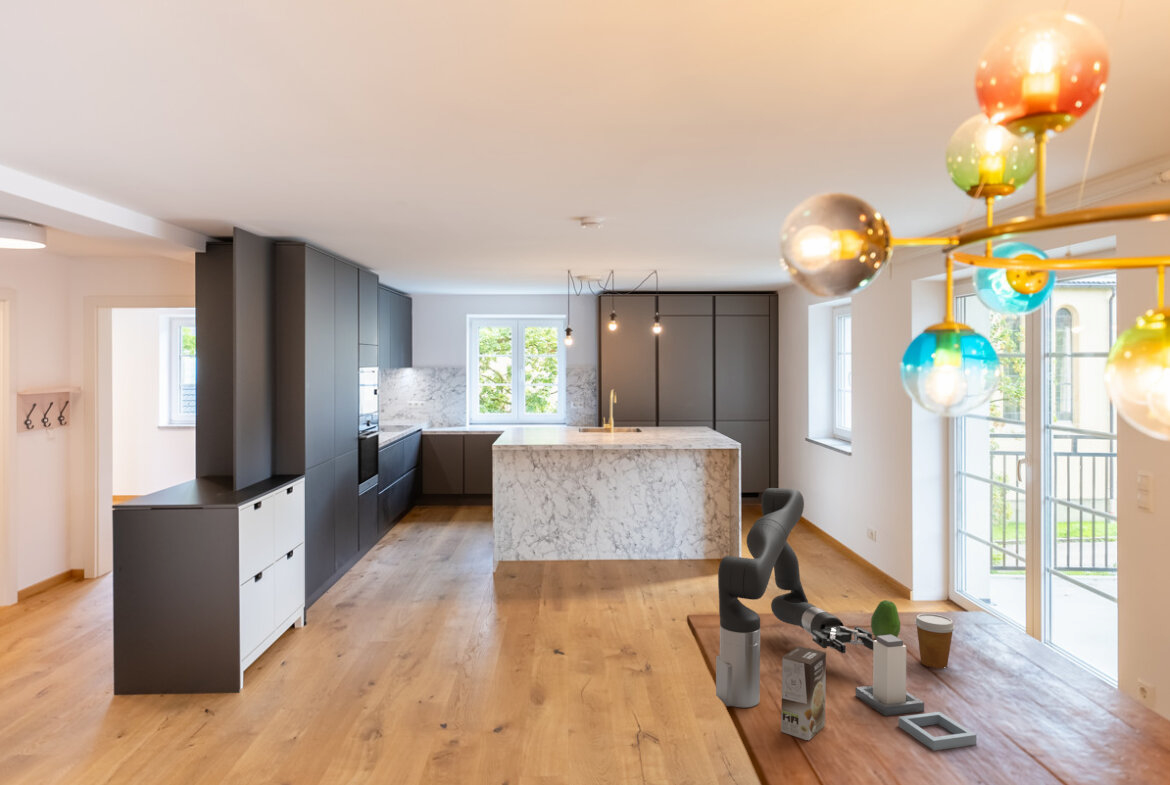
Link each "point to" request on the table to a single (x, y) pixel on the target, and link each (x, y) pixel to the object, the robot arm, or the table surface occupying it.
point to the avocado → (885, 619)
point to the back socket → (889, 709)
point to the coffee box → (803, 692)
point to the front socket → (942, 742)
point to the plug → (889, 669)
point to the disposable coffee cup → (934, 639)
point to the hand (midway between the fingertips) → (859, 647)
